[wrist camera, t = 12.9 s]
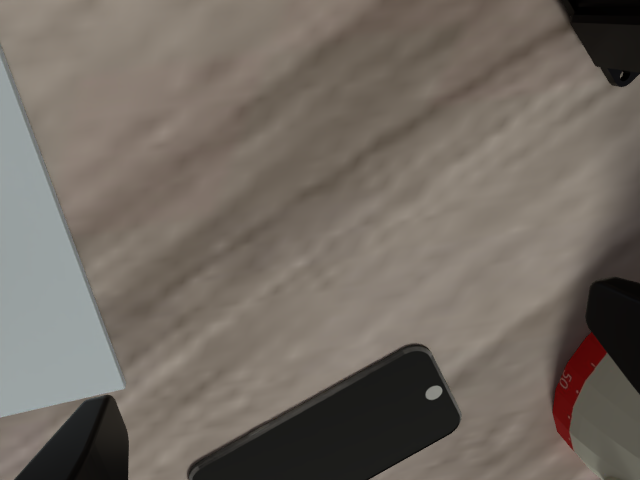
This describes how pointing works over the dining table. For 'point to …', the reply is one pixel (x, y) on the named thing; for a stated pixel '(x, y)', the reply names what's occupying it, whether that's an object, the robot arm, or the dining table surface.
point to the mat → (42, 282)
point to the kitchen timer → (599, 413)
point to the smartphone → (347, 427)
